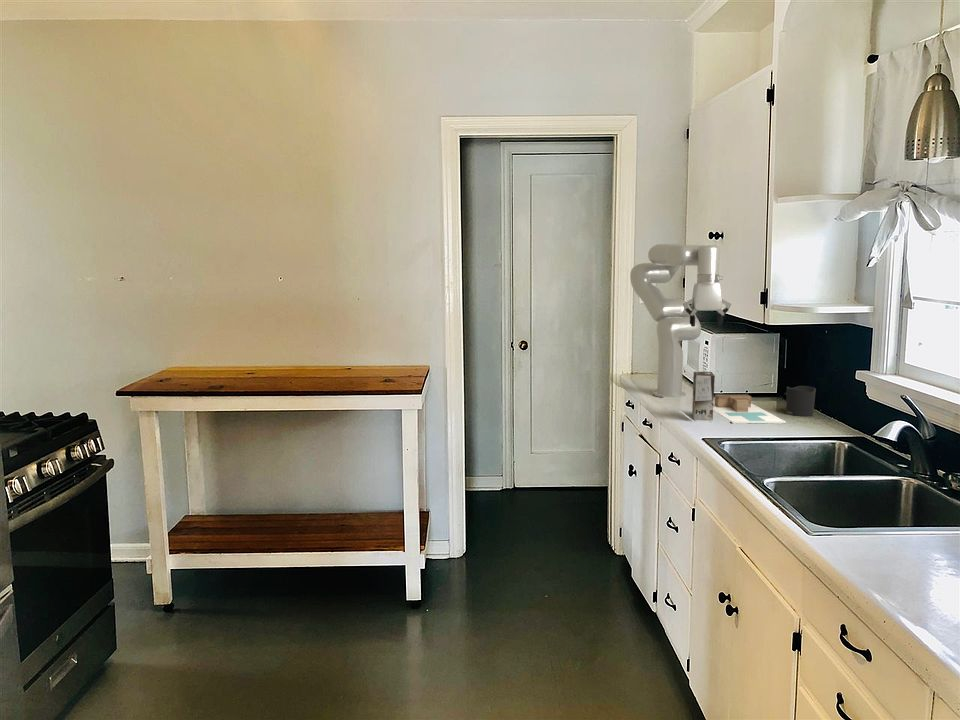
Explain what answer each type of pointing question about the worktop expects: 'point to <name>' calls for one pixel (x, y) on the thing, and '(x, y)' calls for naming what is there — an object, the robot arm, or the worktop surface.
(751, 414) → the board
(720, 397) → the t block
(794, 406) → the pen holder
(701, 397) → the coffee box
